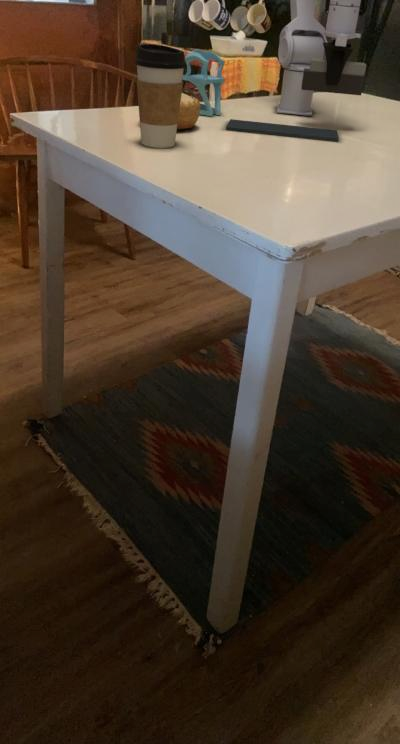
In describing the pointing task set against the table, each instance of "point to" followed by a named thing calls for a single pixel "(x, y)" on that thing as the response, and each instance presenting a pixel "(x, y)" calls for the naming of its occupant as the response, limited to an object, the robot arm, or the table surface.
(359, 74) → the grey rectangular block
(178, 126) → the pastry
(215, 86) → the chair
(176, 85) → the coffee cup
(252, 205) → the table surface
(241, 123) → the desk mat
